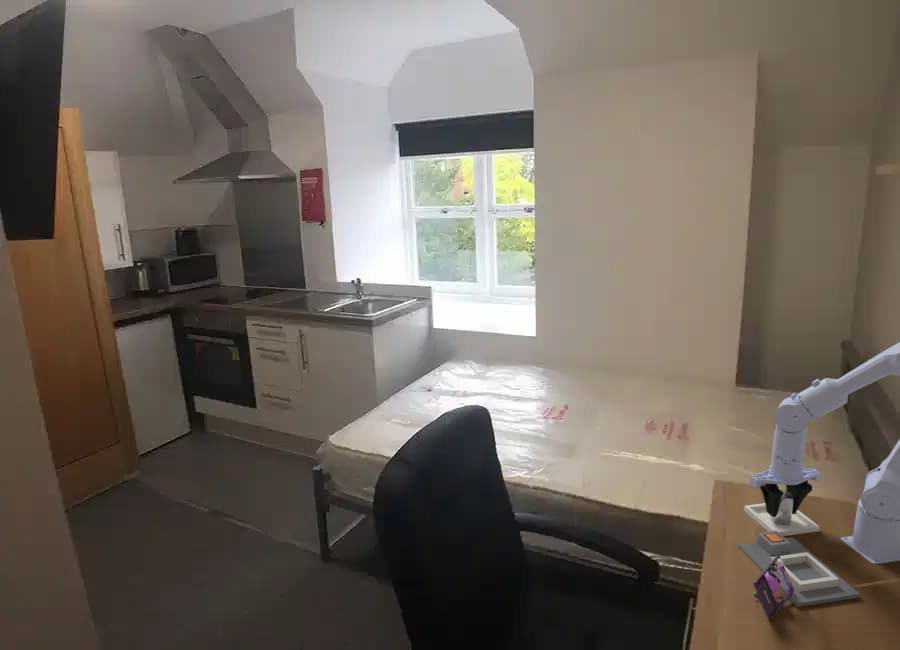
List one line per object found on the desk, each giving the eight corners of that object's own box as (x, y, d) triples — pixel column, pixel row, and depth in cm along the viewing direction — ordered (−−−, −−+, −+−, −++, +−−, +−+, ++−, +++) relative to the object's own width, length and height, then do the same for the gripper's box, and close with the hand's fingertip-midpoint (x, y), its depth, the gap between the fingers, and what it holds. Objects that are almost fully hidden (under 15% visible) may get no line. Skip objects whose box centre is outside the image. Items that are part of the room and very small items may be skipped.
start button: (774, 541, 115) (775, 533, 115) (782, 548, 113) (783, 540, 112) (764, 542, 115) (765, 534, 114) (771, 549, 113) (772, 541, 112)
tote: (784, 505, 129) (785, 500, 128) (818, 532, 119) (819, 526, 119) (743, 511, 127) (744, 505, 127) (774, 538, 118) (775, 532, 117)
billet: (782, 513, 125) (785, 488, 124) (795, 524, 122) (798, 498, 120) (765, 515, 125) (768, 491, 123) (778, 526, 121) (781, 501, 119)
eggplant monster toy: (759, 583, 96) (783, 555, 102) (730, 579, 101) (755, 552, 106) (774, 621, 96) (798, 591, 101) (745, 615, 101) (769, 586, 106)
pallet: (792, 540, 117) (794, 527, 116) (859, 597, 101) (861, 583, 100) (737, 548, 115) (739, 535, 115) (797, 607, 100) (798, 592, 99)
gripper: (805, 442, 124) (798, 498, 127) (743, 449, 122) (737, 506, 126) (831, 458, 117) (822, 516, 121) (765, 465, 115) (759, 525, 119)
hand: (781, 512), depth 123 cm, fingers closed on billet, 4 cm apart
